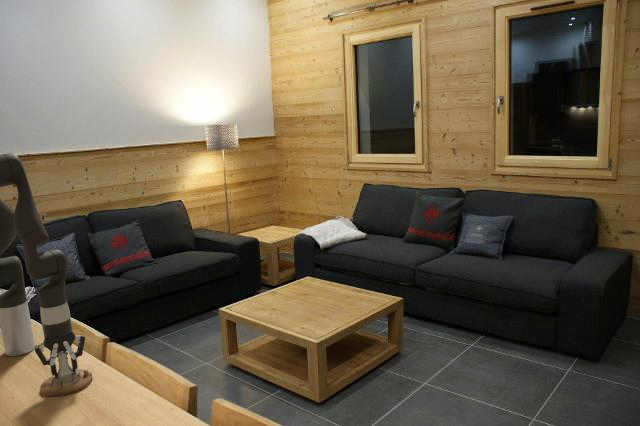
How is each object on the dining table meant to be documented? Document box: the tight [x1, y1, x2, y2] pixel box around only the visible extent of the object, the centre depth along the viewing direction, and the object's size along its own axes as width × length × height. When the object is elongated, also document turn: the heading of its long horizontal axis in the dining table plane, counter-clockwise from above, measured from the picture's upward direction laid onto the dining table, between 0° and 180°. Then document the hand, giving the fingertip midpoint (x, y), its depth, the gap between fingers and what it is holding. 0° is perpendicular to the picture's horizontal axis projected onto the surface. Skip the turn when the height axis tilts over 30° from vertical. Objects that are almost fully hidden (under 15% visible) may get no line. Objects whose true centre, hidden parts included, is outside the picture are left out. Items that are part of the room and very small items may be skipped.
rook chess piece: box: [56, 351, 74, 379], centre depth 159 cm, size 4×4×8 cm
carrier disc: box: [39, 367, 93, 398], centre depth 160 cm, size 14×14×3 cm
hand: (65, 372), depth 160 cm, fingers closed on rook chess piece, 4 cm apart
